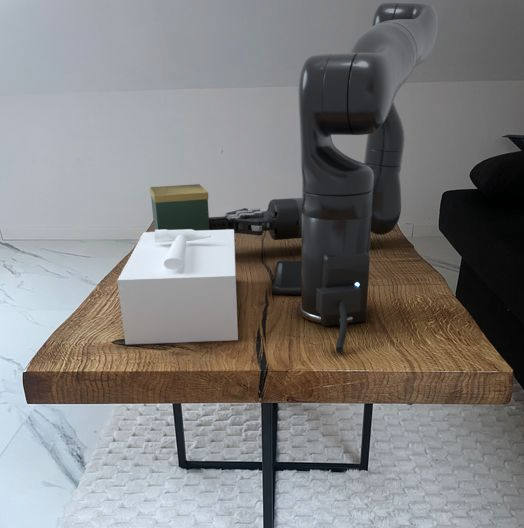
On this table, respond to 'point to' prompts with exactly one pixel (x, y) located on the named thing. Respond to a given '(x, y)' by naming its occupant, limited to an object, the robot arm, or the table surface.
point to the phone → (287, 278)
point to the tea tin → (180, 207)
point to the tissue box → (180, 288)
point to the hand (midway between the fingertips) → (205, 224)
